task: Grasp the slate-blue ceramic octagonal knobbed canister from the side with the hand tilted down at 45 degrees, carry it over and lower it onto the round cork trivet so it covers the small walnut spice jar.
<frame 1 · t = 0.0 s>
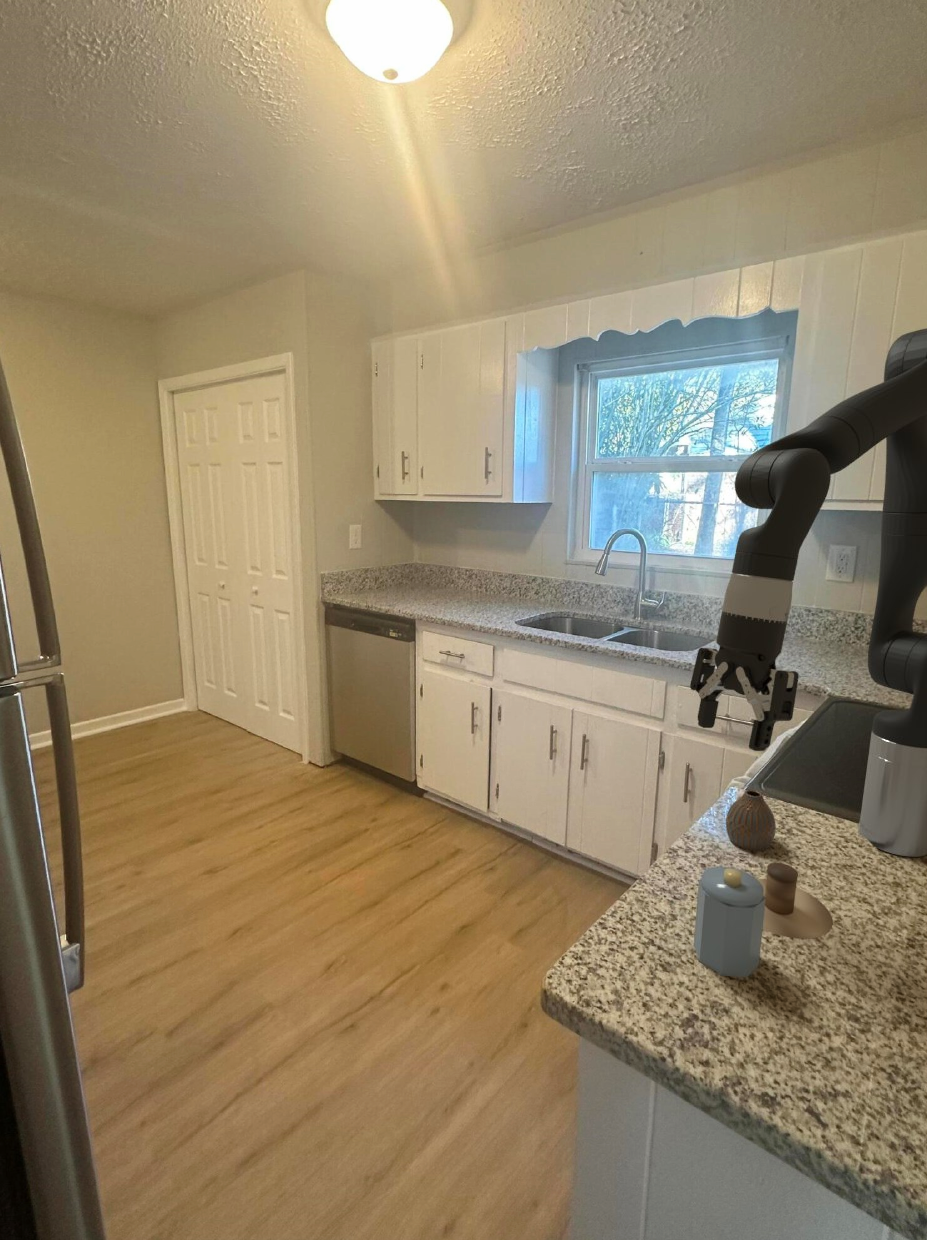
hand: (729, 737, 79), 22 cm above the counter, tool pointing down, fingers open, 8 cm apart
spice jar: (778, 906, 80), point 1 cm above the counter, touching trivet
octagonal knobbed canister: (724, 961, 71), on the counter
vase: (748, 847, 96), on the counter
trivet: (778, 911, 80), on the counter
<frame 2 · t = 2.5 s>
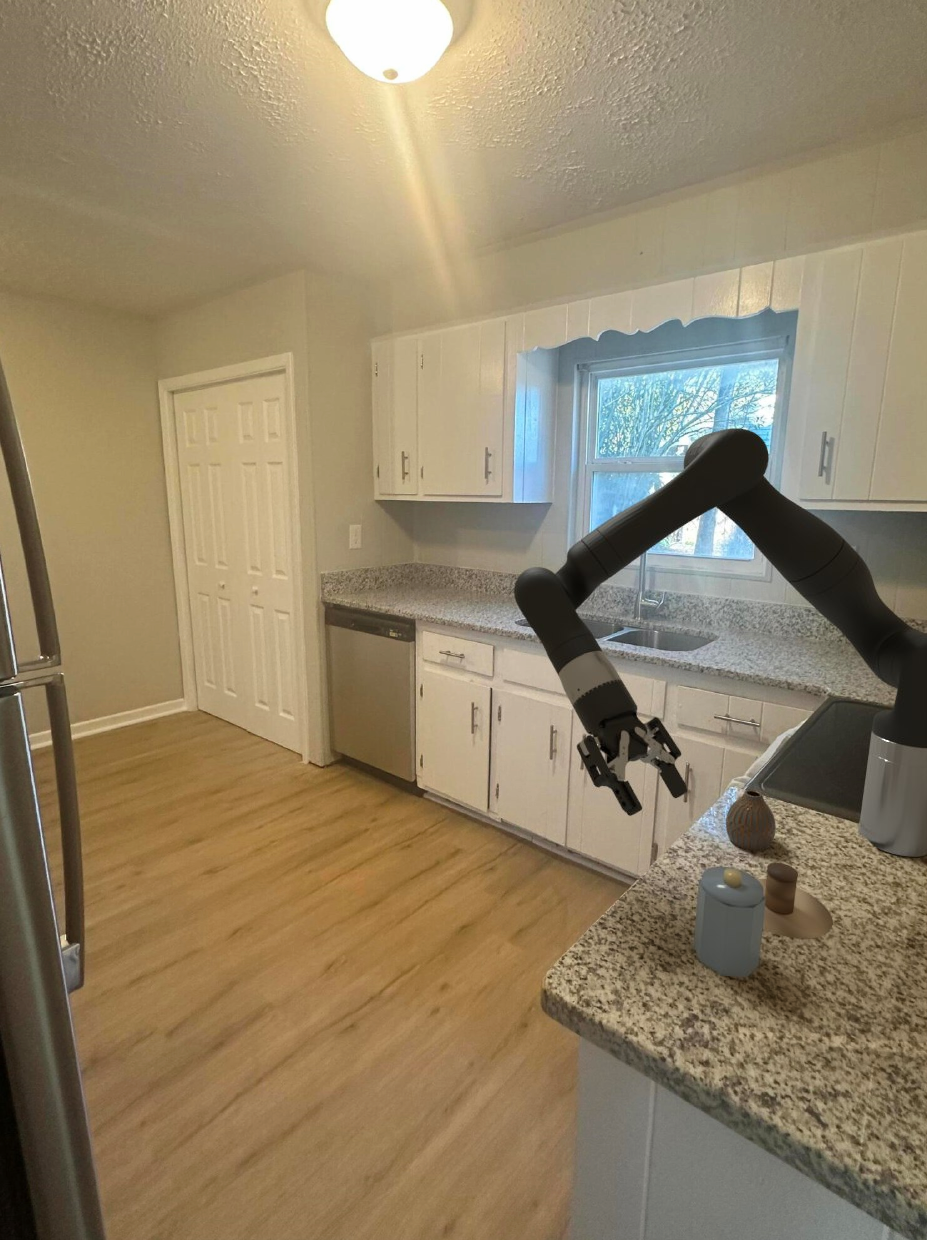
hand: (659, 804, 77), 15 cm above the counter, tool tilted 45°, fingers open, 8 cm apart
nothing on the counter moved.
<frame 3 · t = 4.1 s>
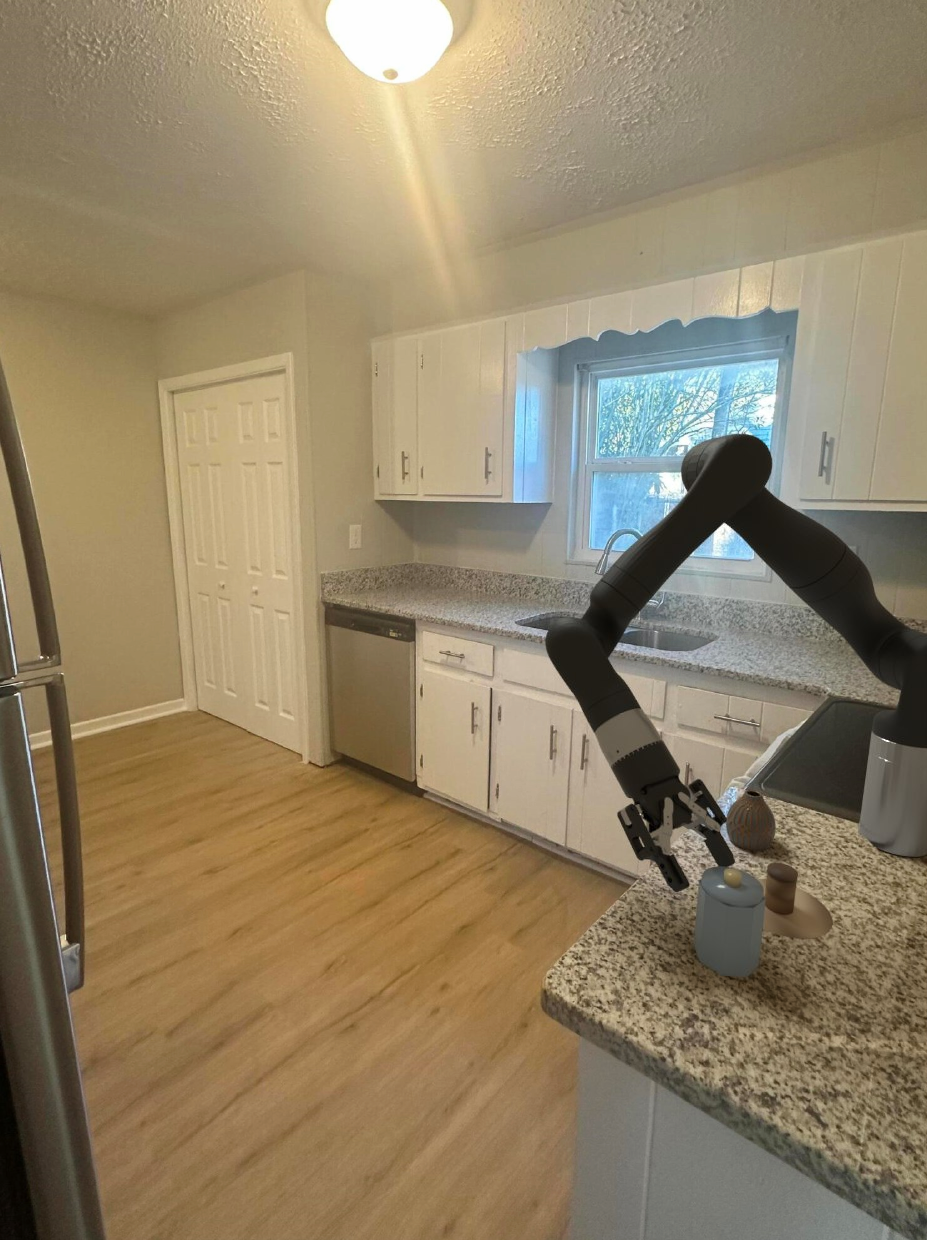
hand: (706, 877, 72), 9 cm above the counter, tool tilted 45°, fingers open, 8 cm apart
nothing on the counter moved.
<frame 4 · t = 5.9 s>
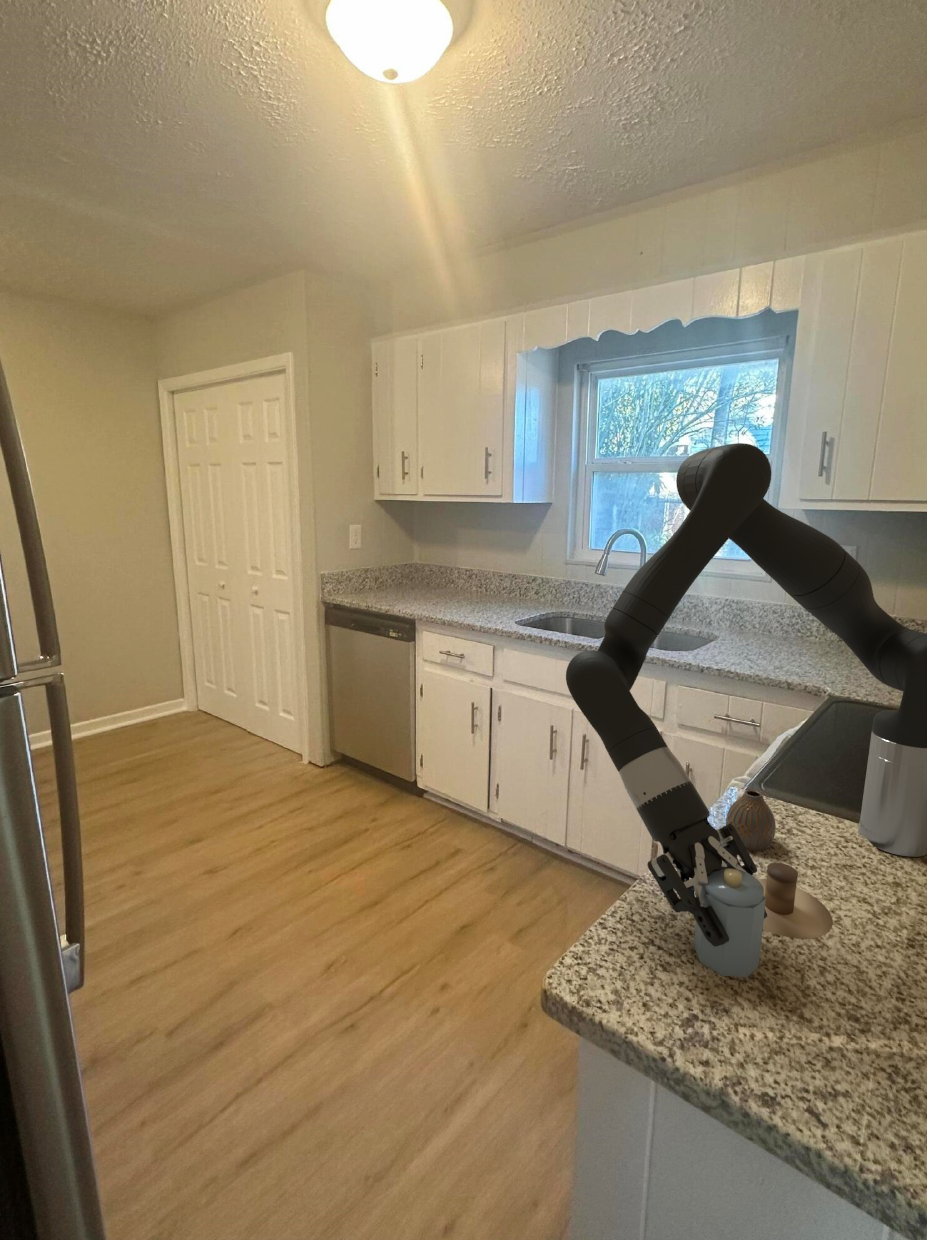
hand: (741, 931, 69), 5 cm above the counter, tool tilted 45°, fingers closed on octagonal knobbed canister, 6 cm apart
octagonal knobbed canister: (724, 961, 71), on the counter, touching gripper
everything else where it was.
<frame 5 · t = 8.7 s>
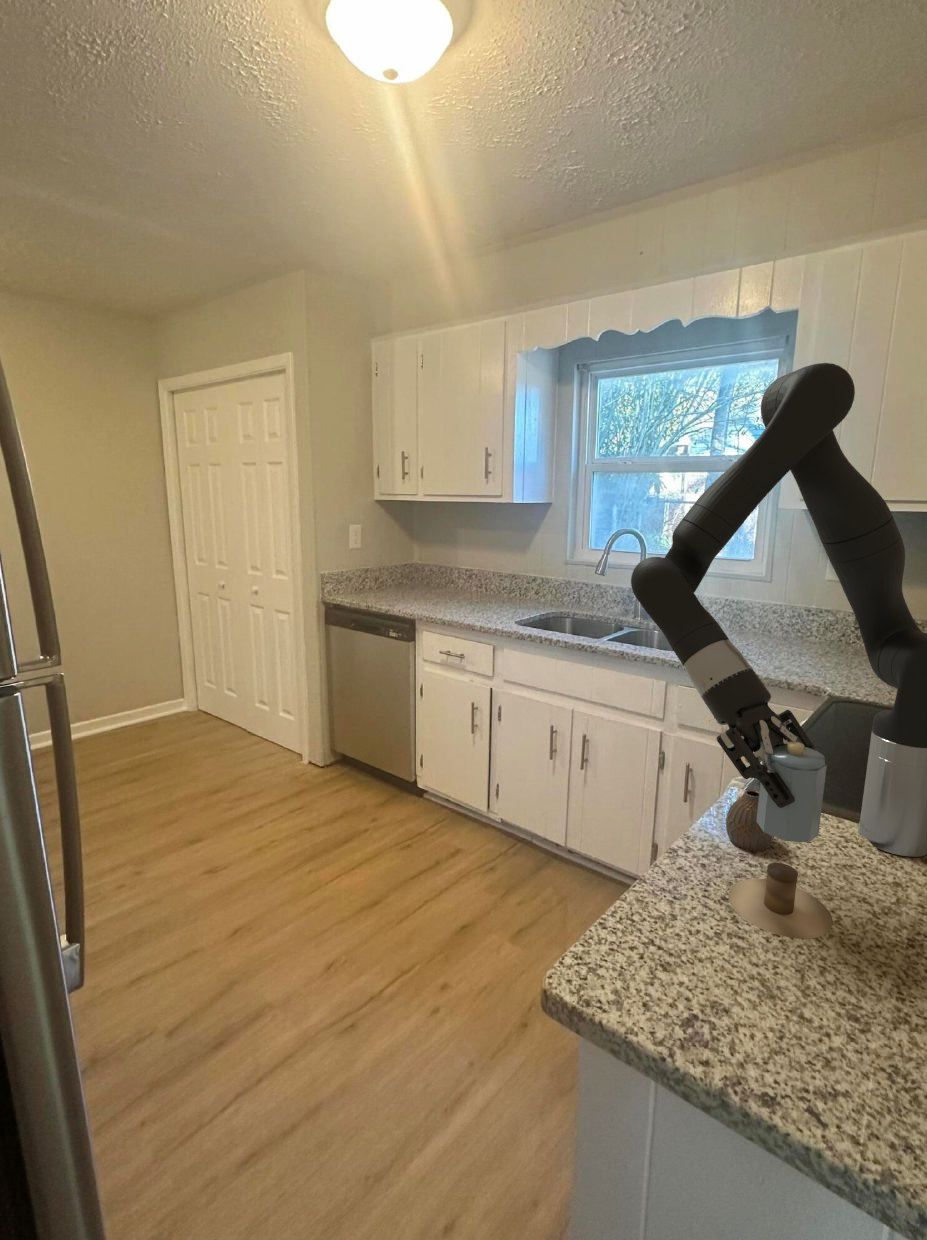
hand: (803, 797, 76), 17 cm above the counter, tool tilted 45°, fingers closed on octagonal knobbed canister, 6 cm apart
octagonal knobbed canister: (786, 828, 78), point 12 cm above the counter, touching gripper
everything else where it was.
when the fingers open (7 cm above the counter, at t = 11.5 s): octagonal knobbed canister drops 1 cm, resting on trivet.
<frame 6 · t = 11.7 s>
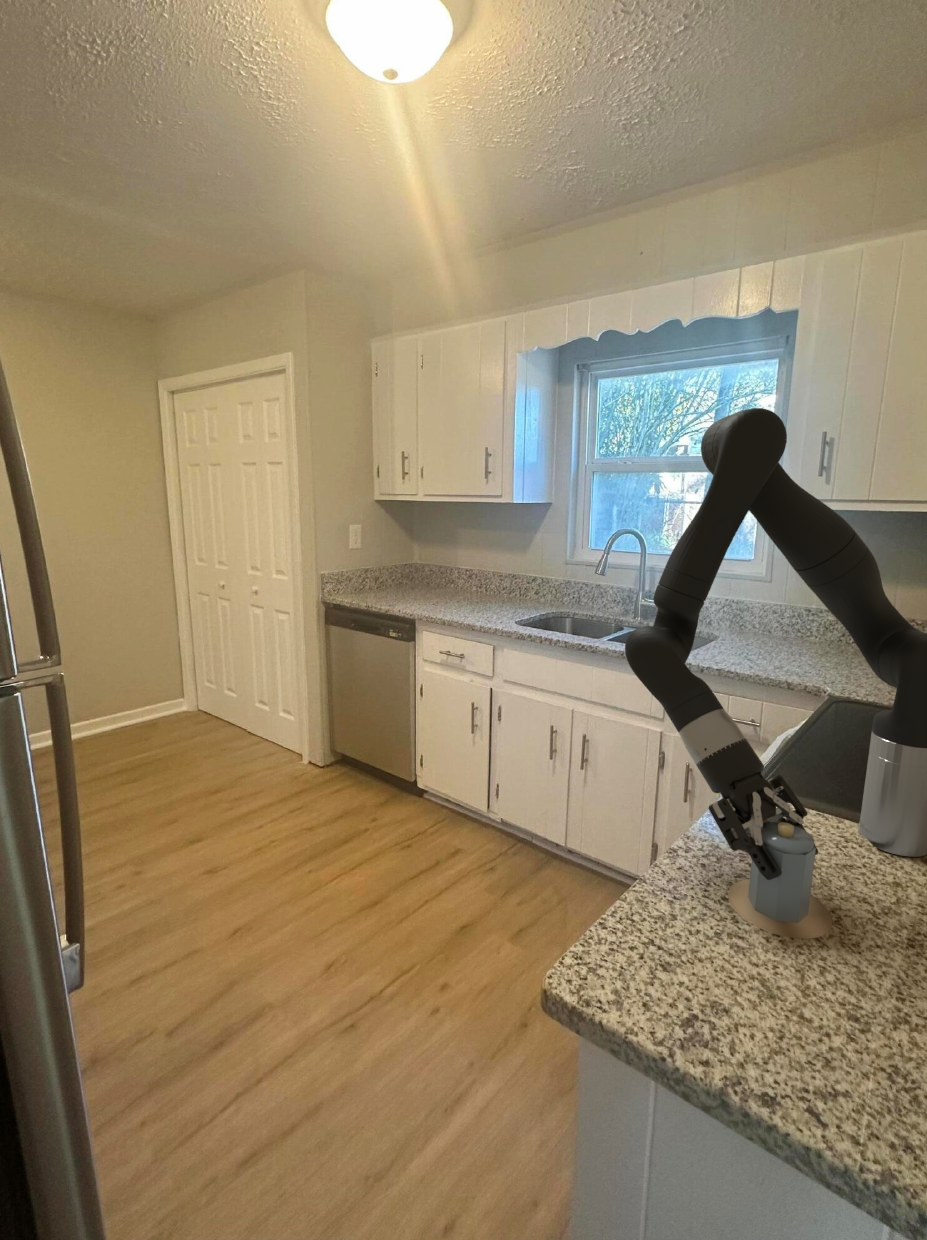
hand: (794, 866, 78), 7 cm above the counter, tool tilted 45°, fingers open, 8 cm apart
octagonal knobbed canister: (777, 905, 80), point 1 cm above the counter, touching trivet
everything else where it was.
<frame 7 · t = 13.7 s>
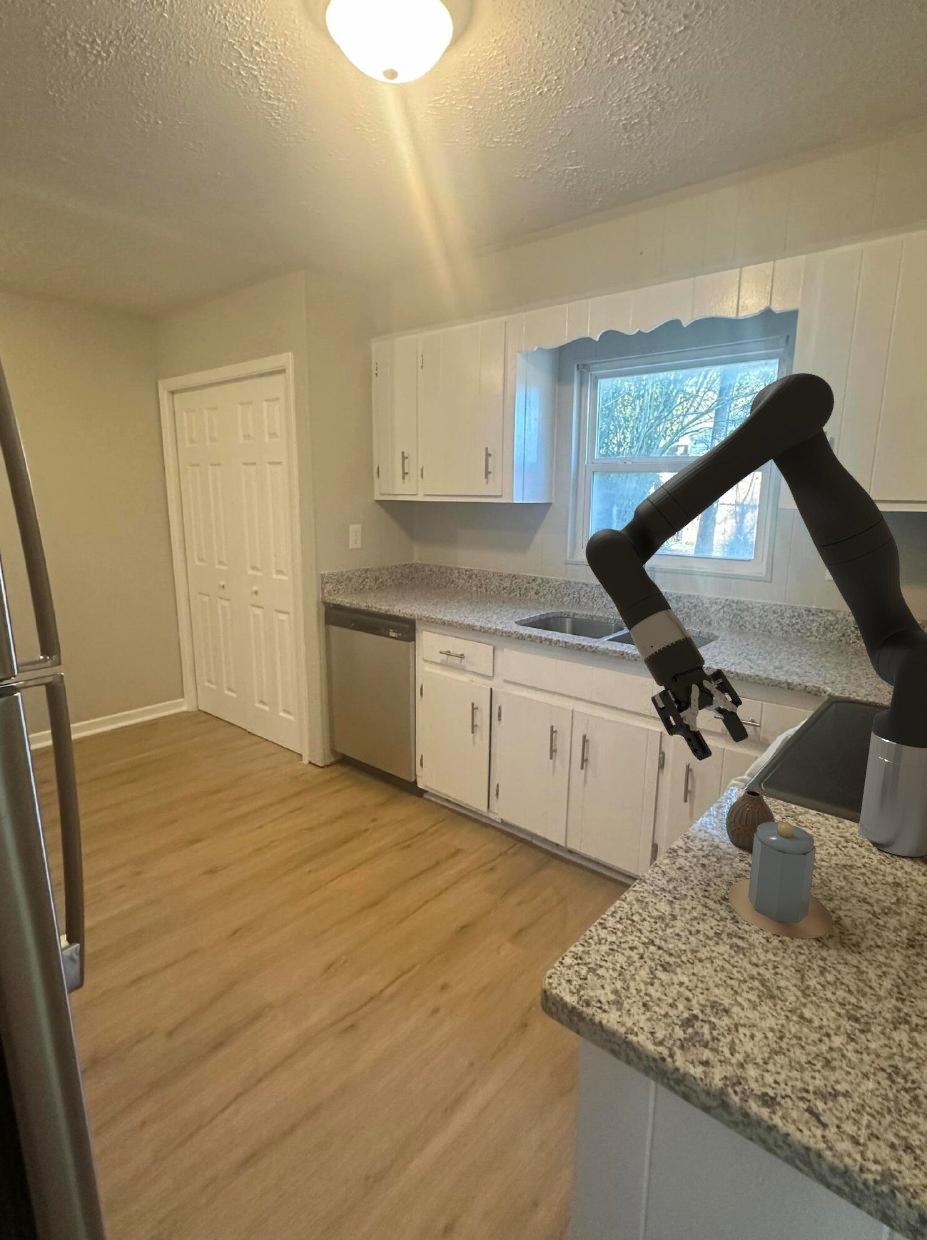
hand: (724, 749, 86), 18 cm above the counter, tool tilted 40°, fingers open, 8 cm apart
nothing on the counter moved.
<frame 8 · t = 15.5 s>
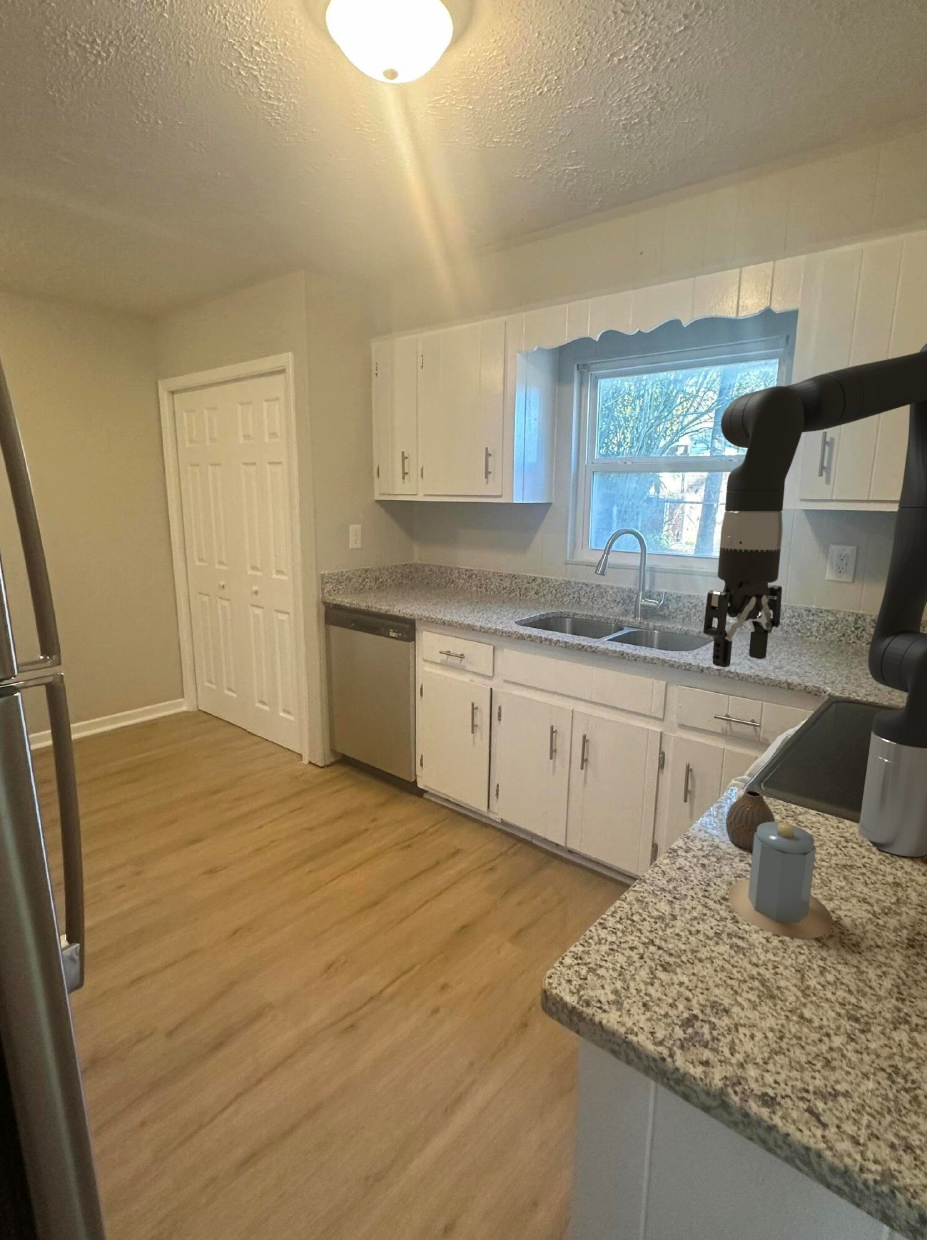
hand: (739, 661, 87), 30 cm above the counter, tool pointing down, fingers open, 8 cm apart
nothing on the counter moved.
at the end: octagonal knobbed canister 0.1 cm from the spice jar (horizontally); octagonal knobbed canister point 0.8 cm above the counter; octagonal knobbed canister tilted 0° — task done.
